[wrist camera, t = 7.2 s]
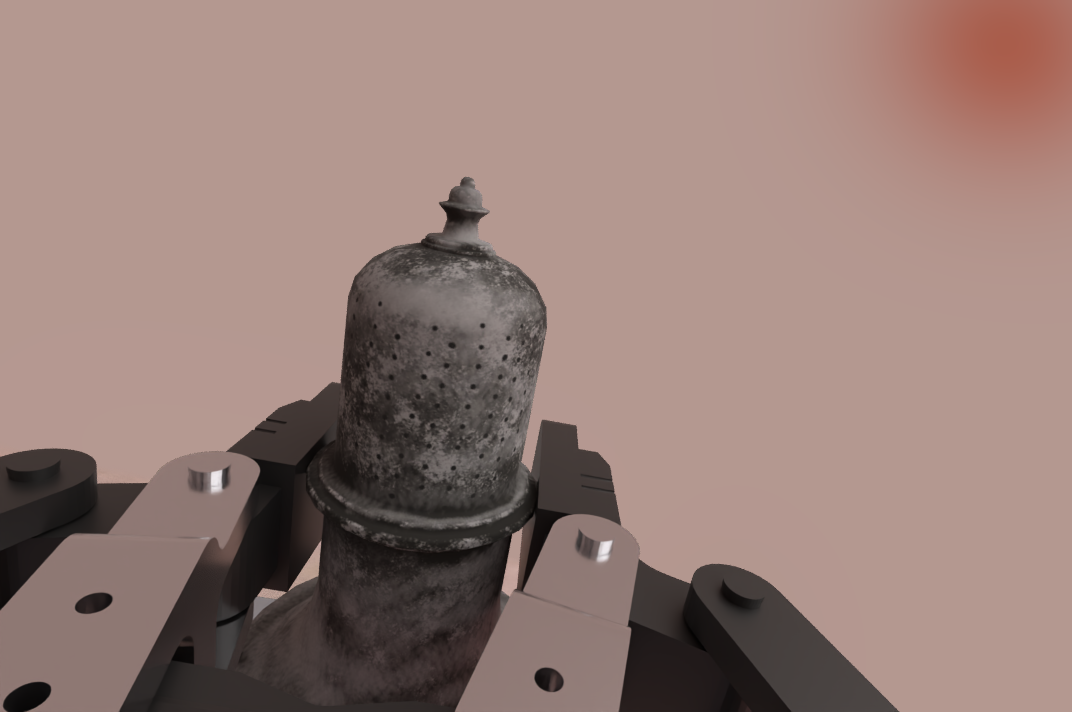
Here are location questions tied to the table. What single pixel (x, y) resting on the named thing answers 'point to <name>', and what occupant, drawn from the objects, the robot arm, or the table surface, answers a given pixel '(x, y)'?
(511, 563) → the table surface
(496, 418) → the salt shaker
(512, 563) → the table surface
